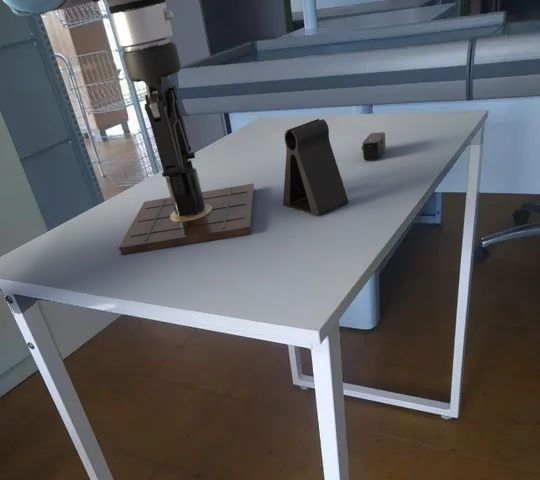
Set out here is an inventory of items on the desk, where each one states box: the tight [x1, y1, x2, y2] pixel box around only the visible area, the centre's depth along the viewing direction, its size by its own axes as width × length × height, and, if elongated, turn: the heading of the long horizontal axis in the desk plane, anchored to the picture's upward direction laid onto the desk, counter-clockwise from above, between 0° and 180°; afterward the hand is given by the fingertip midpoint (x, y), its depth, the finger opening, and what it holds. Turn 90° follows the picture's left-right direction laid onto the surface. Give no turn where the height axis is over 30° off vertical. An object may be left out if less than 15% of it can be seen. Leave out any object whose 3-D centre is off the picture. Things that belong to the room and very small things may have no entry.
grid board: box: [118, 183, 256, 255], centre depth 89 cm, size 20×20×1 cm
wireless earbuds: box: [360, 131, 386, 162], centre depth 101 cm, size 5×7×3 cm, turn 156°
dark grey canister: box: [164, 167, 205, 215], centre depth 87 cm, size 5×5×6 cm
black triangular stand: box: [282, 118, 349, 217], centre depth 82 cm, size 9×6×12 cm, turn 36°
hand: (190, 207), depth 88 cm, fingers closed on dark grey canister, 5 cm apart
